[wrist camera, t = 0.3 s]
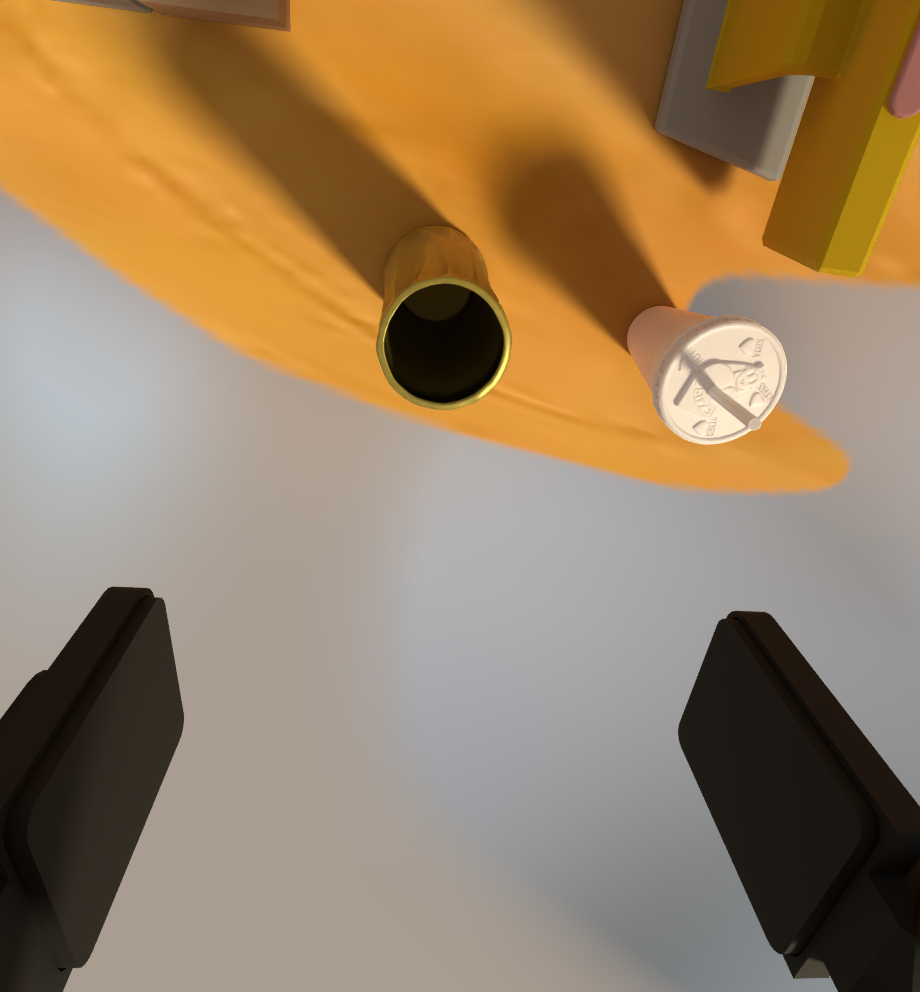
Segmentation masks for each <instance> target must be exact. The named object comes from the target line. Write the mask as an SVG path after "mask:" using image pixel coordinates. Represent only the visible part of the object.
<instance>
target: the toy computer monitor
mask: <svg viewBox="0 0 920 992" xmlns="http://www.w3.org/2000/svg"><path fill="white" fill-rule="evenodd" d="M814 76H815V79H814ZM813 79H814V82H813ZM812 82H813V85H812ZM811 85H812V88H811ZM810 88H811V91H810ZM809 91H810V94H809ZM808 94H809V97H808ZM807 97H808V100H807ZM806 100H807V103H806ZM805 103H806V106H805ZM804 106H805V109H804ZM803 109H804V113H803V116H802V112H803ZM801 116H802V119H801ZM800 119H801V122H800ZM799 122H800V125H799ZM798 125H799V128H798ZM654 127H655V129H656V132H658V133H660V134H662V135H665V136H667V137H669V138H672V139H674V140H676V141H678V142H681V143H683V144H685V145H688V146H690V147H692V148H695V149H697V150H699V151H702V152H704V153H706V154H709V155H711V156H713V157H716V158H718V159H720V160H723V161H725V162H727V163H729V164H732V165H734V166H736V167H739V168H741V169H743V170H746V171H748V172H750V173H753V174H755V175H757V176H760V177H762V178H764V179H767V180H769V181H777V180H779V179H781V177H782V179H781V183H780V186H779V189H778V192H777V195H776V198H775V201H774V204H773V207H772V210H771V213H770V216H769V219H768V222H767V225H766V228H765V231H764V234H763V237H762V239H763V245H764V246H766V247H768V248H770V249H772V250H774V251H776V252H778V253H780V254H782V255H784V256H786V257H788V258H790V259H792V260H794V261H796V262H799V263H801V264H803V265H805V266H807V267H809V268H811V269H813V270H815V271H817V272H822V273H828V274H835V275H841V276H848V277H854V278H855V277H857V276H859V275H860V274H862V273H863V272H864V269H865V267H866V264H867V262H868V260H869V257H870V255H871V252H872V250H873V247H874V245H875V243H876V240H877V238H878V235H879V233H880V230H881V228H882V226H883V223H884V221H885V218H886V216H887V213H888V211H889V209H890V206H891V204H892V201H893V199H894V197H895V194H896V192H897V189H898V187H899V184H900V182H901V180H902V177H903V175H904V172H905V170H906V167H907V165H908V163H909V160H910V158H911V155H912V153H913V150H914V148H915V146H916V143H917V141H918V138H919V136H920V0H684V2H683V6H682V10H681V14H680V19H679V23H678V27H677V32H676V36H675V40H674V45H673V49H672V53H671V58H670V62H669V66H668V70H667V75H666V79H665V83H664V88H663V92H662V96H661V101H660V105H659V109H658V114H657V118H656V122H655V126H654ZM797 128H798V131H797ZM796 131H797V134H796ZM795 134H796V137H795ZM794 137H795V140H794ZM793 140H794V143H793ZM792 143H793V146H792ZM791 146H792V149H791ZM790 149H791V152H790ZM789 152H790V155H789ZM788 155H789V158H788ZM787 158H788V161H787ZM786 161H787V164H786ZM785 164H786V167H785ZM784 167H785V170H784ZM783 170H784V173H783ZM782 173H783V176H782Z"/></svg>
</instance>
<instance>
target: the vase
mask: <svg viewBox="0 0 920 992" xmlns="http://www.w3.org/2000/svg"><path fill="white" fill-rule="evenodd" d="M383 287H384V293H385V298H384V303H383V308H382V315H381V318H380V323H379V332H378V337H377V342H376V351H377V355H378V359H379V362H380V364H381V367H382V370H383V372H384V375H385V377H386V379H387V381H388V383H389V384H390V385H391V386H392V387H393V389H394V390H395V391H396V392H398V393H399V394H400V395H401V396H402V397H404V398H405V399H406V400H408V401H410V402H412V403H413V404H416V405H418V406H422V407H426V408H430V409H436V410H453V409H457V408H461V407H464V406H467V405H470V404H473V403H475V402H477V401H478V400H480V399H481V398H483V397H484V396H486V395H487V394H488V393H489V392H490V391H491V390H492V389H493V388H494V387H495V385H496V384H497V383H498V382H499V380H500V379H501V378H502V376H503V374H504V372H505V370H506V368H507V365H508V362H509V358H510V353H511V345H512V335H511V330H510V327H509V324H508V321H507V318H506V315H505V313H504V310H503V308H502V306H501V305H500V304H499V300H498V298H497V296H496V295H495V293H494V292H493V290H492V288H491V286H490V283H489V280H488V273H487V268H486V265H485V261H484V259H483V256H482V254H481V253H480V251H479V249H478V248H477V247H476V245H475V244H474V243H473V242H472V241H471V240H470V239H469V238H468V237H467V236H465V235H464V234H462V233H461V232H459V231H457V230H455V229H452V228H449V227H444V226H426V227H422V228H418V229H416V230H413V231H412V232H410V233H408V234H407V235H405V236H404V237H403V238H401V239H400V240H399V241H398V242H397V243H396V244H395V246H394V248H393V249H392V251H391V253H390V255H389V257H388V259H387V261H386V264H385V267H384V274H383Z"/></svg>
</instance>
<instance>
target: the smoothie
mask: <svg viewBox="0 0 920 992" xmlns="http://www.w3.org/2000/svg"><path fill="white" fill-rule="evenodd" d="M627 347H628V350H629V352H630V354H631V356H632V358H633V359H634V361H635V363H636V365H637V366H638V368H639V370H640V372H641V374H642V375H643V377H644V379H645V381H646V382H647V384H648V386H649V388H650V389H651V391H652V394H653V403H654V406H655V409H656V411H657V413H658V416H659V418H660V419H661V420H662V421H663V422H664V423H665V425H666V426H667V427H668V428H669V429H671V430H672V431H673V432H674V433H676V434H677V435H678V436H680V437H681V438H683V439H685V440H687V441H690V442H693V443H698V444H719V443H724V442H728V441H731V440H734V439H736V438H738V437H740V436H742V435H744V434H746V433H748V432H749V431H751V430H757V429H758V428H759V427H760V426H761V422H762V421H763V420H764V419H765V418H766V417H767V416H768V415H769V413H770V412H771V411H772V409H773V408H774V407H775V405H776V403H777V402H778V400H779V398H780V396H781V393H782V391H783V388H784V385H785V381H786V374H787V364H786V357H785V353H784V350H783V348H782V346H781V344H780V342H779V341H778V339H777V338H776V337H775V336H774V335H773V334H772V333H771V332H770V331H769V330H767V329H766V328H764V327H763V326H761V325H760V324H758V323H757V322H755V321H754V320H751V319H748V318H744V317H741V316H718V317H711V316H707V315H702V314H698V313H694V312H689V311H685V310H681V309H676V308H672V307H667V306H654V307H651V308H648V309H646V310H644V311H643V312H641V313H640V314H639V315H638V316H637V317H636V318H635V319H634V320H633V322H632V323H631V325H630V327H629V330H628V333H627Z"/></svg>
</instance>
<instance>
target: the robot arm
mask: <svg viewBox="0 0 920 992" xmlns="http://www.w3.org/2000/svg"><path fill="white" fill-rule="evenodd" d="M183 724H184V713H183V707H182V701H181V695H180V690H179V683H178V678H177V672H176V666H175V660H174V654H173V648H172V642H171V637H170V631H169V625H168V619H167V614H166V607H165V603H164V600H163V599H162V598H155V597H154V595H153V592H152V591H151V589H148V588H133V587H110V588H108V589H107V590H106V591H105V592H104V593H103V595H102V596H101V597H100V599H99V600H98V602H97V603H96V604H95V606H94V607H93V608H92V610H91V611H90V613H89V614H88V615H87V617H86V618H85V619H84V621H83V622H82V624H81V625H80V626H79V628H78V629H77V631H76V632H75V633H74V635H73V636H72V637H71V639H70V640H69V642H68V643H67V644H66V645H65V647H64V648H63V650H62V651H61V652H60V654H59V655H58V656H57V658H56V659H55V661H54V662H53V663H52V665H51V666H50V667H49V669H48V670H43V671H41V672H39V673H37V674H36V675H35V676H34V677H33V678H32V679H31V680H30V681H29V682H28V683H27V684H26V686H25V687H24V688H23V690H22V691H21V693H20V694H19V695H18V696H17V698H16V699H15V701H14V702H13V703H12V704H11V706H10V707H9V709H8V710H7V711H6V712H5V714H4V715H3V716H2V718H1V719H0V992H63V989H64V987H65V985H66V983H67V980H68V978H69V976H70V973H71V971H72V968H80V967H82V966H83V965H85V964H86V962H87V961H88V959H89V957H90V955H91V953H92V951H93V949H94V946H95V944H96V942H97V939H98V937H99V934H100V932H101V929H102V927H103V925H104V922H105V920H106V917H107V915H108V912H109V910H110V907H111V905H112V903H113V900H114V898H115V895H116V893H117V891H118V888H119V886H120V883H121V881H122V878H123V876H124V874H125V871H126V869H127V866H128V864H129V861H130V859H131V857H132V854H133V852H134V849H135V847H136V845H137V842H138V840H139V837H140V835H141V832H142V830H143V828H144V825H145V822H146V820H147V818H148V815H149V813H150V810H151V808H152V806H153V803H154V801H155V798H156V796H157V793H158V791H159V788H160V786H161V784H162V781H163V779H164V776H165V774H166V772H167V769H168V767H169V765H170V762H171V760H172V757H173V755H174V752H175V750H176V748H177V745H178V743H179V740H180V737H181V735H182V730H183ZM678 736H679V742H680V745H681V748H682V750H683V752H684V755H685V757H686V759H687V761H688V763H689V766H690V768H691V770H692V772H693V775H694V777H695V779H696V781H697V784H698V786H699V788H700V790H701V792H702V795H703V797H704V799H705V801H706V804H707V806H708V808H709V810H710V812H711V815H712V817H713V819H714V822H715V824H716V826H717V828H718V831H719V833H720V835H721V837H722V839H723V842H724V844H725V846H726V848H727V850H728V853H729V855H730V857H731V859H732V862H733V864H734V866H735V868H736V870H737V873H738V875H739V877H740V879H741V882H742V884H743V886H744V888H745V891H746V893H747V895H748V898H749V900H750V902H751V904H752V906H753V909H754V911H755V913H756V915H757V918H758V919H759V922H760V924H761V927H762V929H763V931H764V933H765V936H766V938H767V940H768V942H769V943H770V945H771V947H772V948H773V949H774V950H775V951H776V952H777V953H779V954H783V957H784V959H785V961H786V963H787V965H788V967H789V969H790V972H791V974H792V976H793V978H794V979H795V978H828V977H829V976H831V978H832V980H833V982H834V984H835V986H836V988H837V990H838V992H920V806H919V805H918V804H917V802H916V801H915V800H914V799H913V797H912V796H911V795H910V793H909V792H908V791H907V790H906V788H905V787H904V786H903V785H902V783H901V782H900V781H899V779H898V778H897V777H896V776H895V774H894V773H893V772H892V770H891V769H890V768H889V766H888V765H887V764H886V763H885V761H884V760H883V759H882V757H881V756H880V755H879V754H878V752H877V751H876V750H875V748H874V747H873V746H872V744H871V743H870V742H869V741H868V739H867V738H866V737H865V735H864V734H863V733H862V732H861V730H860V729H859V728H858V726H857V725H856V724H855V723H854V721H853V720H852V719H851V717H850V716H849V715H848V713H847V712H846V711H845V710H844V708H843V707H842V706H841V704H840V703H839V702H838V701H837V699H836V698H835V697H834V695H833V694H832V693H831V692H830V691H829V689H828V688H827V686H826V685H825V684H824V683H823V681H822V680H821V679H820V678H819V676H818V675H817V674H816V672H815V671H814V670H813V668H812V667H811V666H810V664H809V663H808V662H807V661H806V659H805V658H804V657H803V655H802V654H801V653H800V652H799V650H798V649H797V648H796V646H795V645H794V644H793V643H792V641H791V640H790V639H789V637H788V636H787V635H786V634H785V632H784V631H783V630H782V628H781V627H780V626H779V625H778V623H777V622H776V621H775V619H774V618H773V617H772V616H771V615H770V614H768V613H766V612H751V611H733V612H731V613H730V614H728V616H727V618H726V619H722V620H720V621H719V622H718V624H717V627H716V629H715V632H714V635H713V637H712V640H711V642H710V645H709V647H708V650H707V653H706V655H705V658H704V661H703V663H702V666H701V668H700V671H699V674H698V676H697V679H696V682H695V684H694V687H693V689H692V692H691V695H690V697H689V700H688V702H687V705H686V708H685V710H684V713H683V715H682V718H681V721H680V723H679V728H678Z"/></svg>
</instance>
